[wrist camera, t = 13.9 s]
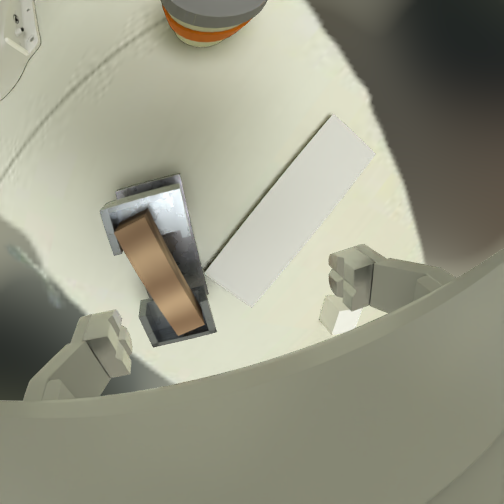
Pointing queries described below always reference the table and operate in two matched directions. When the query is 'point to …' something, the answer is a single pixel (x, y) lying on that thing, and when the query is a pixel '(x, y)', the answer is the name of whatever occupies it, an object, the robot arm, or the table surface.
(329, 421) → the robot arm
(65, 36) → the table surface
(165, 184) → the bracket stand
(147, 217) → the rail
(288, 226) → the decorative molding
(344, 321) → the white cube
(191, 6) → the reusable coffee cup
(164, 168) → the table surface
